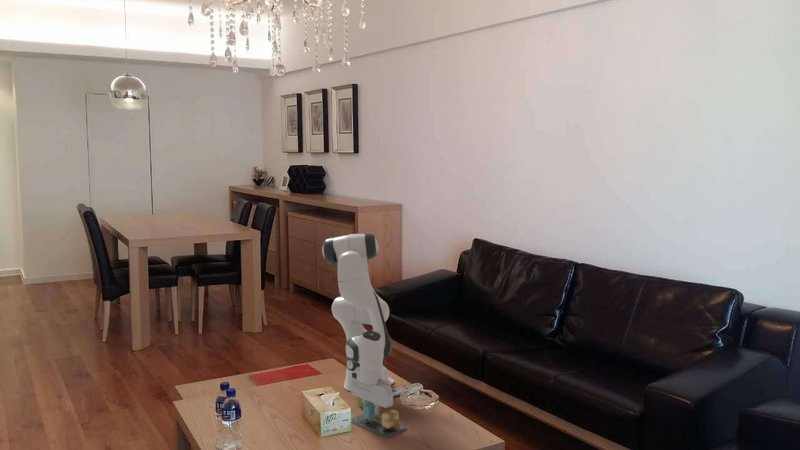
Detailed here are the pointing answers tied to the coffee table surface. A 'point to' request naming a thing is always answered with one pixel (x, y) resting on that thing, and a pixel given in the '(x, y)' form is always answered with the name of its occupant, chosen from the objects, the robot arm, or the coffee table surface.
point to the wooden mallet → (388, 420)
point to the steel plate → (376, 426)
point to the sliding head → (369, 411)
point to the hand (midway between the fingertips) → (371, 412)
